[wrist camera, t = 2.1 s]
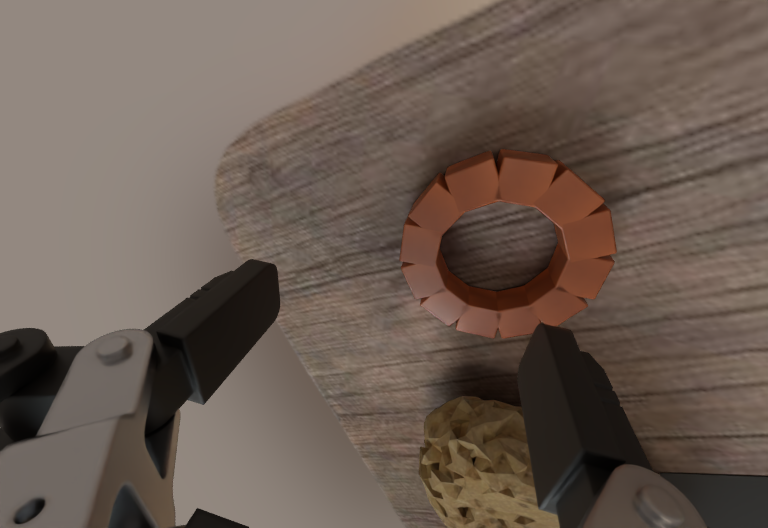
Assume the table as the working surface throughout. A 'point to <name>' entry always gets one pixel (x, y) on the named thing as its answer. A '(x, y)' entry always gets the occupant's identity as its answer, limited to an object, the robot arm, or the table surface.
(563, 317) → the ring
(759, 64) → the table surface
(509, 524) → the sponge
